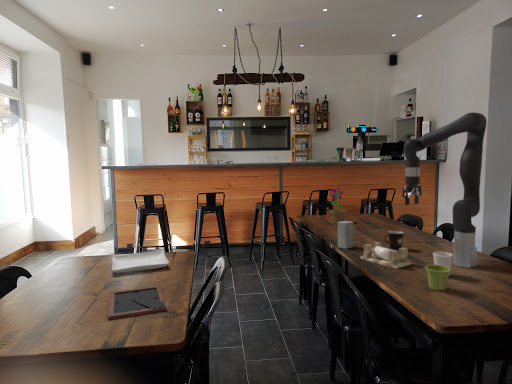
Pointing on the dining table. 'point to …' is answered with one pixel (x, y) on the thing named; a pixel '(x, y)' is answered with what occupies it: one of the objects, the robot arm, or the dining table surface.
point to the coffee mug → (395, 239)
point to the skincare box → (345, 234)
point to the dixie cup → (443, 259)
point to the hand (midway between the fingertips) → (411, 204)
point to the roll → (383, 253)
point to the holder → (393, 256)
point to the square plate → (139, 262)
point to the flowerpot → (338, 214)
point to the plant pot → (437, 276)
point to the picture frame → (136, 302)
